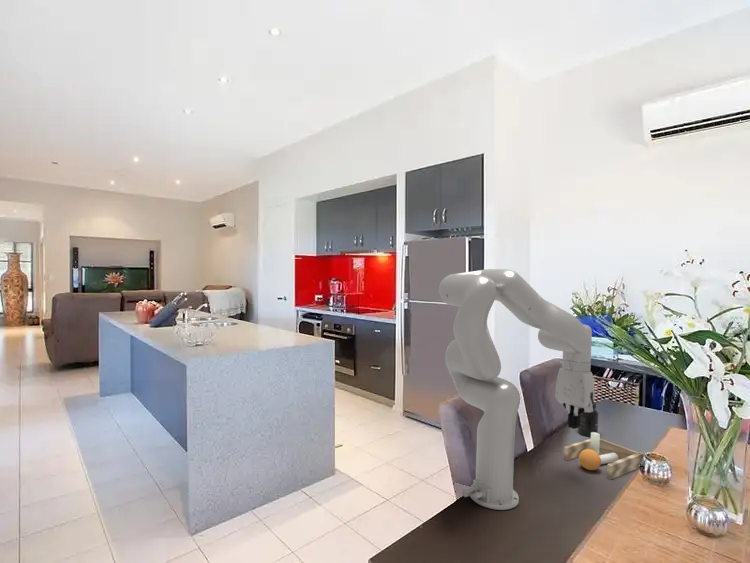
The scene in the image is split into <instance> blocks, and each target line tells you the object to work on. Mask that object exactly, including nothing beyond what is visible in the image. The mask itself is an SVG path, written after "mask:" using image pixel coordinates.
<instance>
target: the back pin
mask: <svg viewBox="0 0 750 563" xmlns="http://www.w3.org/2000/svg"><path fill="white" fill-rule="evenodd" d="M600 438H601V434H600V433H599V432H598V433H596V432H591V437H590V439H591V444H590V449H591V450H594V451H595V452H597V453H598V455H600V451H599V448H600Z"/></svg>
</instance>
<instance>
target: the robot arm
mask: <svg viewBox="0 0 750 563" xmlns="http://www.w3.org/2000/svg"><path fill="white" fill-rule="evenodd" d="M438 294H439V297H440V299H441V300H442V301H443V302H444V303H445V304H446V305H449V306H452V307H458V311H457V313H456V316H455V318H454V321H453V326H452V327H453V330H452V332H453V336H454V338H455V339H453V340H452V341H450V343H449V344H448V345H447V348H446V350H445V354H444V361H445V366H446V368H447V371H448V374H449V376H450V378H451V380H452V381H453V383H454V384H453V385H454V387H455V388H456V391H457V393H458V395H459V396H460V398H461V399H462V400H463V401H464V403H465V402H466V403H467V404H468V405H471V406H473V407H475V408H477V409H479V410H482V412H483V415H482V417H481V419H480V420H479V422H478V424H477V428H476V454H475V455H476V456H475V457H476V458H475V460H476V461H475V479H473V480H472V484H471V485H470V486H469V487H466V488H463V489H462V490H461V494H462V496H463V497H464V498H468V497H470V498H471V500H472V501H473V502H475V503H476V504H478V505H480V506H481V507H484V508H487V509H490V510H491V509H492V510H499V511H505V510H506V511H507V510H511V509H513V508H515V507H517V505H518V504H519V501H520V498H519V494H518V492H516V490H514V468H515V466H514V464H515V463H514V462H515V433H516V423H517V416H518V412H519V408H520V404H521V394H520V391H519V389H518V388H517V387H516V385H515V384H513V383H512V382H511V381H509V380H507V379H505V378H502V377H499V375H500V373H501V370H502V363H501V359H500V356H499V353H498V351H497V348H496V345H495V344H494V340H493V338H492V336H491V334H490V330H489V328H488V317H489V314H490V311H491V308H492V306H493V304H494V303H495V301H498V302H500V304H502V305H503V306H504V307H506V309H507V310H509V311H510V313H512V314H513V315H514V316H515V317H516V318H517V319H518V320H519V321H520V322H522V323H523V324H525V325H527V326H529V327H532V328H535V329H538V332H537V333H538V334H537V340H538V341H539V343H540V344H541V346H543V347H545V348H547V349H549V350H554V351H559V352H562V358H560V359H559V363H560V364H561V365H562V366H561V367H559V370H558V373H557V378H556V383H555V392H554V393H555V395H554V396H555V399H556V401H557V403H558V404H560V405H561V406H563V407H564V408H565V411H566V413H567V414H568V415H567V424H568V425H567V426H568V428H569V429H570V428H571V429H572V430H573V429H575V430H576V429H578V428H579V427H580V422H581V415H582V414H583V413H584V412H593V405H594V402H595V400H596V399H595V397H596V396H595V395H596V394H595V381H594V380H595V379H594V374H593V373H592V371H591V366H592V364H591V362H592V339H593V338H592V337H593V332H592V331H593V330H592V328H591V326H589V325H588V324H584V323H582V322H581V321H580V320H579V319H578V318H577V317H575V316H574V315H573V314H571V313H570V312H568V311H566V310H565V309H563V308H561V307H559V306H558V305H555V304H554V303H552V302H550V301H548V300H546V299H545V298H543V297H542V296H541V295H540V294H539V293H538V292H537V291H536V290H535V289H534V288H533V287H532V286H531V285H530V284H529V283H528V282H527V281H526V280H525V279H524V278H523V277H522V276H521V275H520V274H519V273H518V272H516V271H514V270H511V269H506V268H505V269H504V268H503V269H502V268H500V269H499V268H497V269H493V268H489V269H487V268H486V269H479V270H474V271H473V270H472V271H465V272H459V273H458V272H457V273H451V274H449V275H446V276H445V277H444V278H443V279H441V281H440V284H439V287H438Z"/></svg>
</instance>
